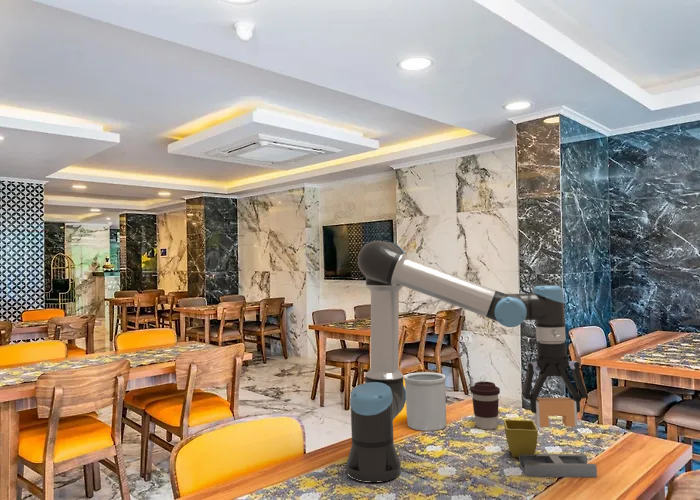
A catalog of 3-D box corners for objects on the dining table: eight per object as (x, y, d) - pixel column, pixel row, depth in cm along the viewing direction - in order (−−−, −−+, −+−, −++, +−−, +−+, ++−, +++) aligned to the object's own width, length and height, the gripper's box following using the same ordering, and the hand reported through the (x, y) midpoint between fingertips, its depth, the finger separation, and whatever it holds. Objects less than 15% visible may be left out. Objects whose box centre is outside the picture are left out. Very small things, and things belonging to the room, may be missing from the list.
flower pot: (539, 461, 141) (538, 429, 142) (507, 460, 143) (506, 428, 144) (534, 450, 150) (533, 420, 150) (504, 449, 152) (503, 419, 152)
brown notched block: (540, 427, 134) (539, 401, 134) (537, 423, 137) (536, 397, 137) (575, 426, 133) (573, 400, 133) (570, 423, 136) (569, 397, 137)
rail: (526, 476, 132) (526, 465, 132) (519, 464, 140) (518, 453, 140) (597, 477, 130) (596, 465, 130) (585, 465, 138) (585, 454, 138)
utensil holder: (401, 420, 183) (400, 372, 184) (440, 417, 185) (439, 370, 186) (410, 433, 169) (409, 381, 169) (453, 430, 170) (451, 379, 171)
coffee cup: (504, 430, 168) (503, 386, 169) (475, 431, 168) (474, 387, 169) (496, 421, 178) (495, 379, 179) (469, 422, 178) (467, 380, 179)
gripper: (514, 344, 133) (518, 429, 132) (597, 342, 131) (602, 428, 130) (507, 340, 141) (512, 420, 140) (587, 338, 139) (591, 419, 138)
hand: (555, 424), depth 135 cm, fingers closed on brown notched block, 9 cm apart
